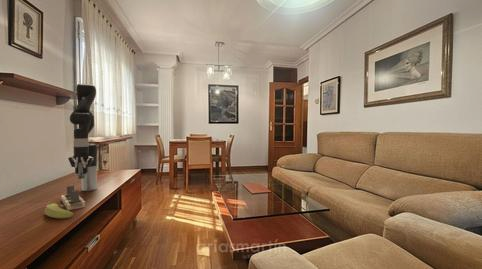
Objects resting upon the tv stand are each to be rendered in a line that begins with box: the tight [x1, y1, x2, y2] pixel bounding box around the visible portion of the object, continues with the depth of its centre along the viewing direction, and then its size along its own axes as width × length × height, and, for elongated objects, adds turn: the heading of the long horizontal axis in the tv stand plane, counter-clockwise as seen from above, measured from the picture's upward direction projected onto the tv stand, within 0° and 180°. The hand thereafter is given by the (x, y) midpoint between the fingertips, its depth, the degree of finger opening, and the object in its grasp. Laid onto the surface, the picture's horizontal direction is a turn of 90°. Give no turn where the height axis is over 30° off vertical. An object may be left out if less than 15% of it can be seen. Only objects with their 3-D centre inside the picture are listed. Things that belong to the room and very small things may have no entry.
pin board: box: [61, 184, 86, 211], centre depth 131 cm, size 23×8×9 cm, turn 46°
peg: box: [77, 162, 85, 180], centre depth 133 cm, size 4×4×10 cm
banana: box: [44, 203, 75, 220], centre depth 117 cm, size 14×6×20 cm
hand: (81, 173), depth 133 cm, fingers closed on peg, 3 cm apart
